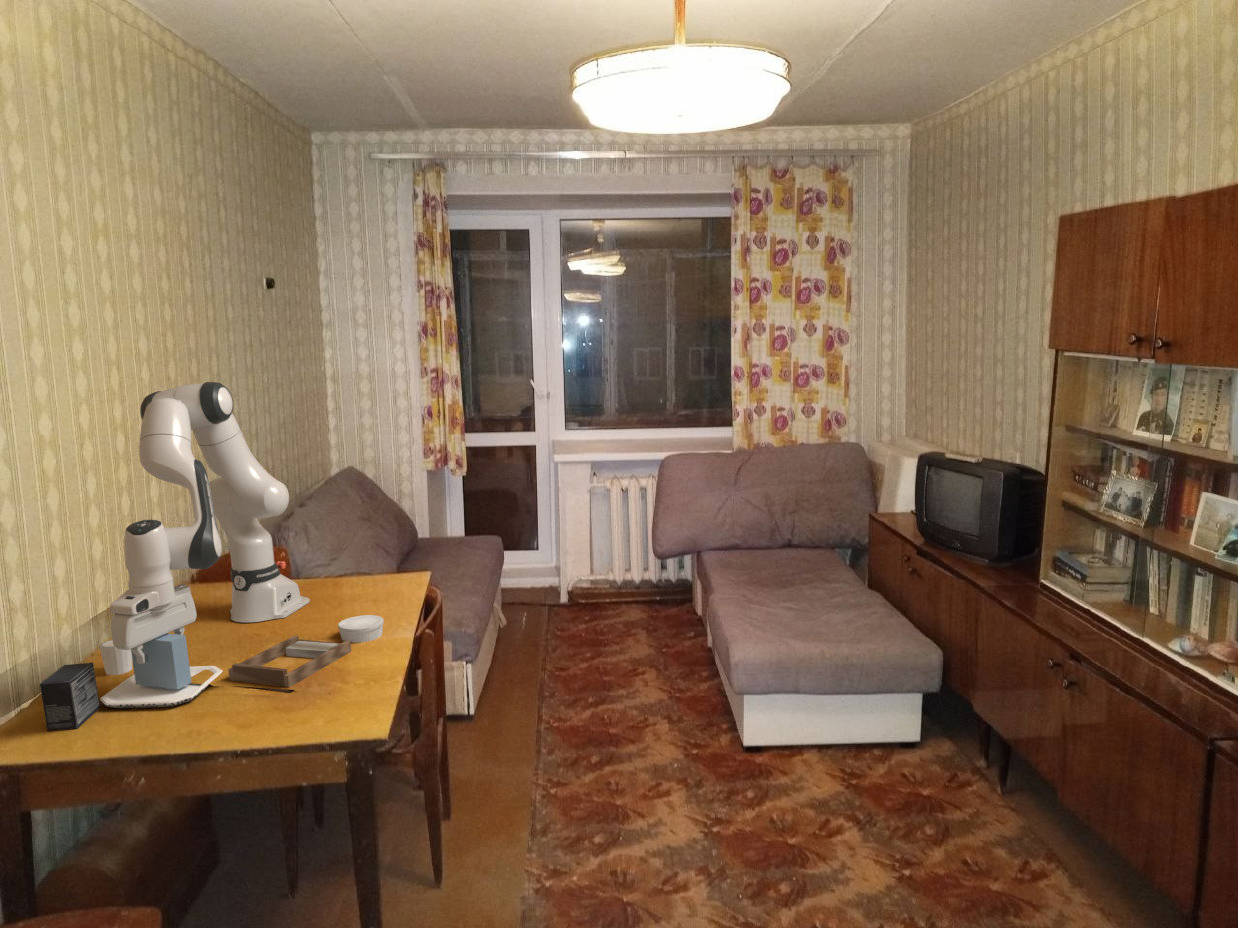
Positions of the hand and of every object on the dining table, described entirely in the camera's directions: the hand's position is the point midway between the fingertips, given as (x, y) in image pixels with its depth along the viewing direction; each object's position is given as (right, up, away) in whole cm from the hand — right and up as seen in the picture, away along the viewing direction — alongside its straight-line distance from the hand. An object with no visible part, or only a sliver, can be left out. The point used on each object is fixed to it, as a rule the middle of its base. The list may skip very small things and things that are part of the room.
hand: (160, 654), depth 208 cm
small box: (-12, -11, -12) cm, 20 cm away
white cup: (-17, -7, +15) cm, 24 cm away
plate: (0, -9, +1) cm, 9 cm away
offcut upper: (+28, -3, +17) cm, 33 cm away
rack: (+26, -6, +11) cm, 29 cm away
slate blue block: (0, -7, +1) cm, 7 cm away
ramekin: (+37, -3, +29) cm, 47 cm away
